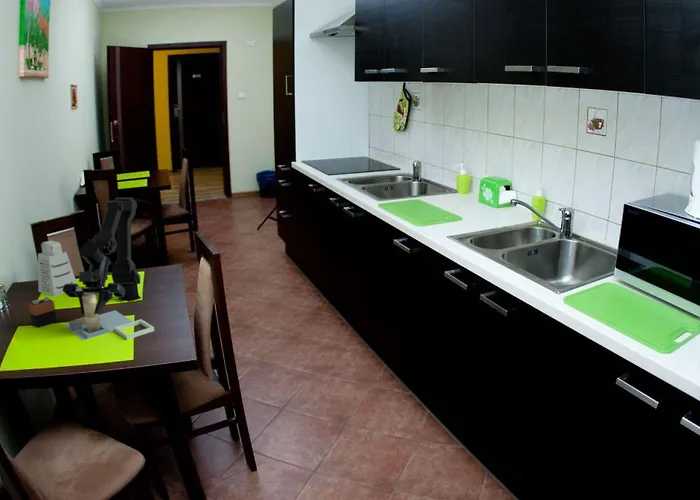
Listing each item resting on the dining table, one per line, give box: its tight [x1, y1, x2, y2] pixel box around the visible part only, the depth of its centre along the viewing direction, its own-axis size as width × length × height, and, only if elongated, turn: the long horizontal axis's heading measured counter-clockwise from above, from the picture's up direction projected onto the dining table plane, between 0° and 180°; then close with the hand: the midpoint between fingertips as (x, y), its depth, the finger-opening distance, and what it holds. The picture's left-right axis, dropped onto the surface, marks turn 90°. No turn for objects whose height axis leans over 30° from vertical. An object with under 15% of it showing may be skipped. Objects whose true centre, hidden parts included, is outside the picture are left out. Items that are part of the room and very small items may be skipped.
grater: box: [37, 240, 78, 297], centre depth 233 cm, size 10×10×20 cm
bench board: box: [63, 309, 133, 341], centre depth 200 cm, size 18×17×4 cm
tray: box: [114, 318, 155, 340], centre depth 195 cm, size 9×9×2 cm
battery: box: [28, 297, 58, 328], centre depth 201 cm, size 4×7×10 cm, turn 140°
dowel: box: [82, 294, 100, 334], centre depth 192 cm, size 4×4×13 cm
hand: (89, 314), depth 191 cm, fingers closed on dowel, 4 cm apart
